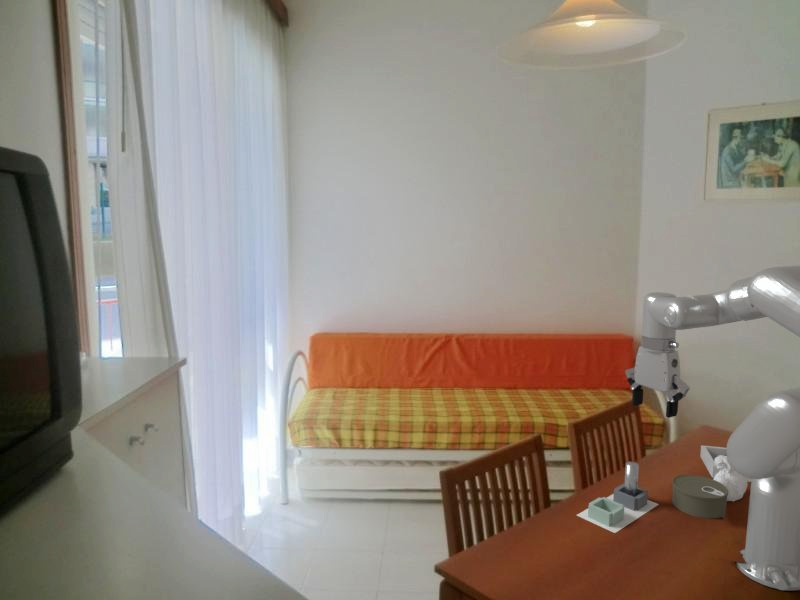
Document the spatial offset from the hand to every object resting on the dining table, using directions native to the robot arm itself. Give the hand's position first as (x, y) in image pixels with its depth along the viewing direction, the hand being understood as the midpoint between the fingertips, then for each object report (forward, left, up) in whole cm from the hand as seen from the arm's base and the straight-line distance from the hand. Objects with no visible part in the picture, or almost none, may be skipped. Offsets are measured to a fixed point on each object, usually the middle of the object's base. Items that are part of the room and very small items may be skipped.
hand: (653, 410), depth 141 cm
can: (-3, -11, -24) cm, 27 cm away
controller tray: (+25, -26, -24) cm, 43 cm away
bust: (+8, -20, -24) cm, 32 cm away
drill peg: (-5, +5, -22) cm, 24 cm away
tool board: (-10, +8, -24) cm, 27 cm away
